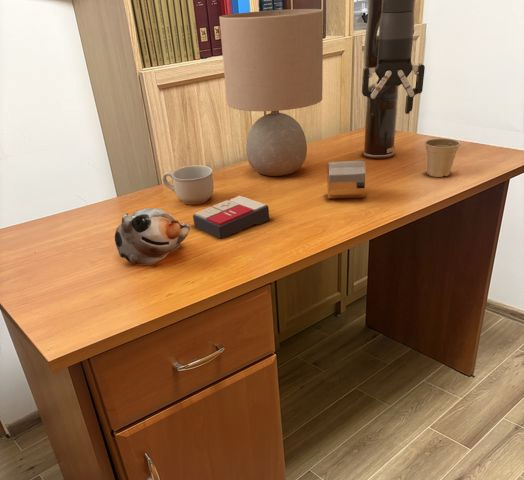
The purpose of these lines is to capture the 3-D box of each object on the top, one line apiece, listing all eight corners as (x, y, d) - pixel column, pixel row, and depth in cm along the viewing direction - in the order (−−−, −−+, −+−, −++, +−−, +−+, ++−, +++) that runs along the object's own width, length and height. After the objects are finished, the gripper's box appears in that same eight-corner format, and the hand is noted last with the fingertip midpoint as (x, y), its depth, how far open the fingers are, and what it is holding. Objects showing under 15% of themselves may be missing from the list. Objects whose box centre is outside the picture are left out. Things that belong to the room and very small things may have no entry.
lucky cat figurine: (183, 238, 124) (193, 192, 113) (181, 279, 117) (192, 234, 106) (116, 227, 120) (120, 179, 109) (110, 268, 114) (114, 221, 102)
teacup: (222, 196, 147) (219, 166, 143) (202, 209, 139) (199, 178, 135) (179, 191, 152) (175, 163, 148) (158, 204, 144) (153, 174, 140)
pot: (360, 188, 146) (361, 154, 141) (365, 204, 136) (367, 168, 131) (326, 190, 147) (327, 156, 141) (329, 205, 137) (329, 169, 132)
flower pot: (452, 168, 156) (456, 137, 151) (458, 178, 148) (463, 146, 143) (419, 169, 157) (422, 138, 152) (423, 179, 149) (427, 147, 144)
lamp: (325, 158, 172) (326, 7, 148) (317, 185, 150) (318, 13, 127) (243, 159, 176) (232, 12, 153) (224, 185, 155) (208, 19, 131)
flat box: (191, 212, 128) (239, 192, 135) (194, 229, 130) (242, 209, 137) (219, 223, 121) (268, 202, 128) (221, 241, 123) (270, 219, 130)
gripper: (425, 32, 123) (417, 109, 132) (361, 36, 124) (358, 112, 133) (432, 35, 116) (423, 116, 126) (365, 39, 117) (361, 119, 127)
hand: (390, 114), depth 129 cm, fingers open, 7 cm apart
